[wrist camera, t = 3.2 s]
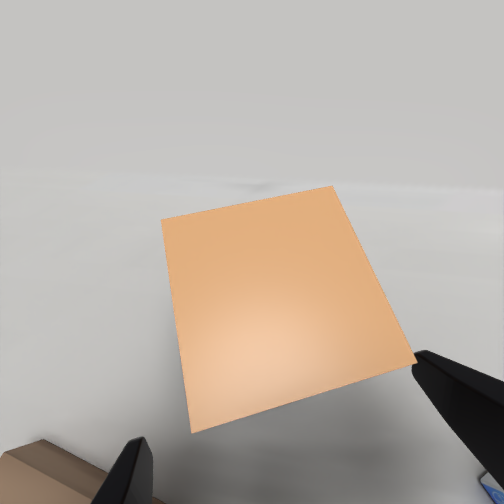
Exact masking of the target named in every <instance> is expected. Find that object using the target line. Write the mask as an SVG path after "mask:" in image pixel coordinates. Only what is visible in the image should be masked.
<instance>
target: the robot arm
mask: <svg viewBox="0 0 504 504" xmlns="http://www.w3.org/2000/svg"><path fill="white" fill-rule="evenodd" d="M414 356H415V358H416V360H417V362H418V363H415V364H412V374H413V376H414V378H415V380H416V381H417V382H418V384H419V385H420V387H421V388H422V389H423V391H424V392H425V394H426V395H427V396H428V398H429V399H430V401H431V402H432V403H433V405H434V406H435V408H436V409H437V410H438V412H439V413H440V415H441V416H442V417H443V419H444V420H445V421H446V422H447V424H448V425H449V426H450V427H451V429H452V430H453V431H454V432H455V433H456V435H457V436H458V437H459V438H460V439H461V440H462V442H463V443H464V444H465V445H466V446H467V448H468V449H469V450H470V451H471V452H472V453H473V455H474V456H475V457H476V458H477V459H478V461H479V462H480V463H481V464H482V465H483V466H484V468H485V469H486V470H487V471H488V472H489V473H490V475H491V476H492V477H493V478H494V479H495V481H496V482H497V483H498V484H499V485H500V486H501V488H502V489H503V490H504V382H503V381H501V380H498V379H496V378H494V377H491V376H489V375H486V374H484V373H481V372H479V371H477V370H474V369H472V368H469V367H467V366H464V365H462V364H460V363H457V362H455V361H452V360H450V359H447V358H445V357H443V356H440V355H438V354H435V353H433V352H430V351H428V350H421V351H418V352H415V353H414ZM152 488H153V456H152V452H151V450H150V448H149V446H148V444H147V442H146V439H145V438H144V437H138V438H135V439H132V440H130V441H129V442H128V443H127V444H126V446H125V447H124V449H123V451H122V452H121V454H120V455H119V457H118V459H117V460H116V462H115V464H114V465H113V467H112V469H111V470H110V472H109V473H108V475H107V477H106V478H105V480H104V482H103V483H102V485H101V487H100V488H99V490H98V492H97V493H96V495H95V496H94V498H93V500H92V501H91V503H90V504H152Z"/></svg>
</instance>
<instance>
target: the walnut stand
mask: <svg viewBox="0 0 504 504" xmlns="http://www.w3.org/2000/svg"><path fill="white" fill-rule="evenodd" d="M107 475H108V473H107V472H105V471H103V470H101V469H99V468H97V467H95V466H93V465H91V464H90V463H88V462H86V461H84V460H82V459H80V458H78V457H76V456H74V455H72V454H71V453H69V452H67V451H65V450H63V449H61V448H59V447H57V446H55V445H53V444H52V443H50V442H48V441H46V440H44V439H43V440H40V441H37V442H34V443H31V444H28V445H24V446H21V447H18V448H15V449H12V450H9V451H6V452H4V453H3V455H2V456H1V458H0V504H90V503H91V501H92V500H93V498H94V496H95V495H96V493H97V492H98V490H99V488H100V487H101V485H102V483H103V482H104V480H105V478H106V477H107ZM152 504H166V503H164V502H162V501H160V500H158V499H156V498H154V497H152Z"/></svg>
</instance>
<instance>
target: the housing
mask: <svg viewBox="0 0 504 504" xmlns="http://www.w3.org/2000/svg"><path fill="white" fill-rule="evenodd" d="M161 224H162V231H163V238H164V245H165V252H166V259H167V266H168V273H169V280H170V287H171V294H172V301H173V308H174V315H175V322H176V329H177V336H178V343H179V350H180V357H181V364H182V371H183V378H184V385H185V392H186V398H187V405H188V412H189V419H190V426H191V433H196V432H199V431H202V430H205V429H208V428H212V427H215V426H218V425H221V424H224V423H227V422H231V421H234V420H237V419H240V418H243V417H247V416H250V415H253V414H256V413H259V412H263V411H266V410H269V409H272V408H275V407H278V406H282V405H285V404H288V403H291V402H294V401H298V400H301V399H304V398H307V397H310V396H313V395H317V394H320V393H323V392H326V391H329V390H333V389H336V388H339V387H342V386H345V385H349V384H352V383H355V382H358V381H361V380H364V379H368V378H371V377H374V376H377V375H380V374H384V373H387V372H390V371H393V370H396V369H399V368H403V367H406V366H409V365H412V364H415V363H418V362H417V360H416V358H415V356H414V354H413V352H412V350H411V348H410V346H409V344H408V341H407V339H406V337H405V335H404V333H403V331H402V329H401V327H400V325H399V323H398V321H397V319H396V317H395V315H394V312H393V310H392V308H391V306H390V304H389V302H388V300H387V298H386V296H385V294H384V292H383V290H382V288H381V286H380V283H379V281H378V279H377V277H376V275H375V273H374V271H373V269H372V267H371V265H370V263H369V261H368V259H367V257H366V254H365V252H364V250H363V248H362V246H361V244H360V242H359V240H358V238H357V236H356V234H355V232H354V230H353V228H352V225H351V223H350V221H349V219H348V217H347V215H346V213H345V211H344V209H343V207H342V205H341V203H340V201H339V199H338V196H337V194H336V192H335V190H334V188H333V186H328V187H323V188H318V189H313V190H308V191H303V192H298V193H293V194H288V195H283V196H278V197H273V198H268V199H263V200H258V201H253V202H248V203H243V204H238V205H233V206H228V207H223V208H218V209H213V210H207V211H202V212H197V213H192V214H187V215H182V216H177V217H172V218H167V219H162V220H161Z"/></svg>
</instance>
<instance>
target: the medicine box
mask: <svg viewBox="0 0 504 504" xmlns="http://www.w3.org/2000/svg"><path fill="white" fill-rule="evenodd" d="M481 483H482V485H483V486H484V487H485V489H486V490H487V492H488V493H489V494H490V496H491V497H492V499H493V500H494V501H495V503H496V504H504V490H503V489H502V488H501V486H500V485H499V484H498V483H497V482H496V481H495V479H494V478H493V477H492V476H491V475H490V473H489V472H488V473H487V474H486V475H485V476H483V477H482V478H481Z"/></svg>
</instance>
